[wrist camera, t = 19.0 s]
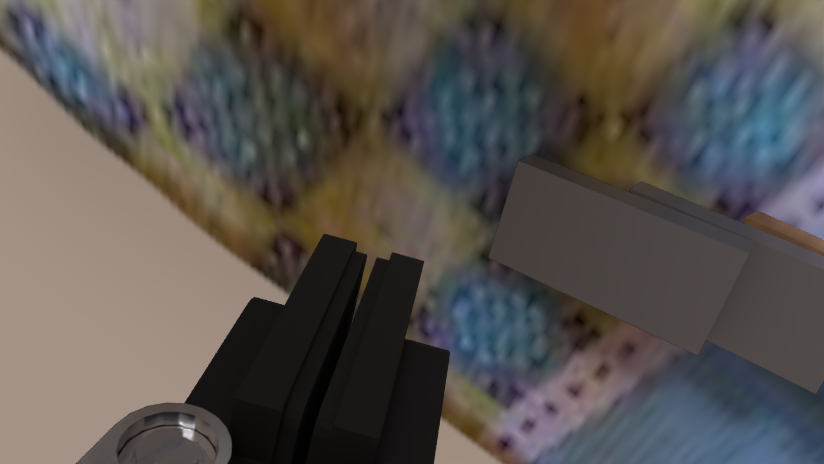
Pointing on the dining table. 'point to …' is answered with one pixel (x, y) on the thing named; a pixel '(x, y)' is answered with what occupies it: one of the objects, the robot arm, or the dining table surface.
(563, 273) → the domino
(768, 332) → the domino
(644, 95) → the dining table surface
